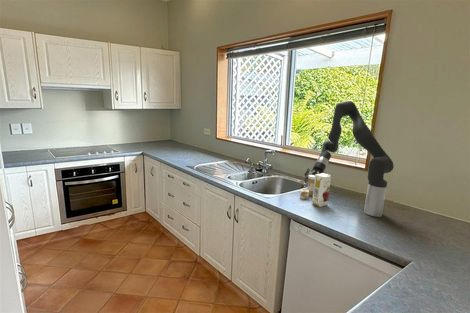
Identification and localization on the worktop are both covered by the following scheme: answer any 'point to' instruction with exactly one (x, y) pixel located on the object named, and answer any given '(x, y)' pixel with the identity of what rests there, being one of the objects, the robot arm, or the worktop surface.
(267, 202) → the worktop surface
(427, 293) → the worktop surface
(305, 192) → the beech block
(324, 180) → the juice carton
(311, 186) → the sprinkles bottle
